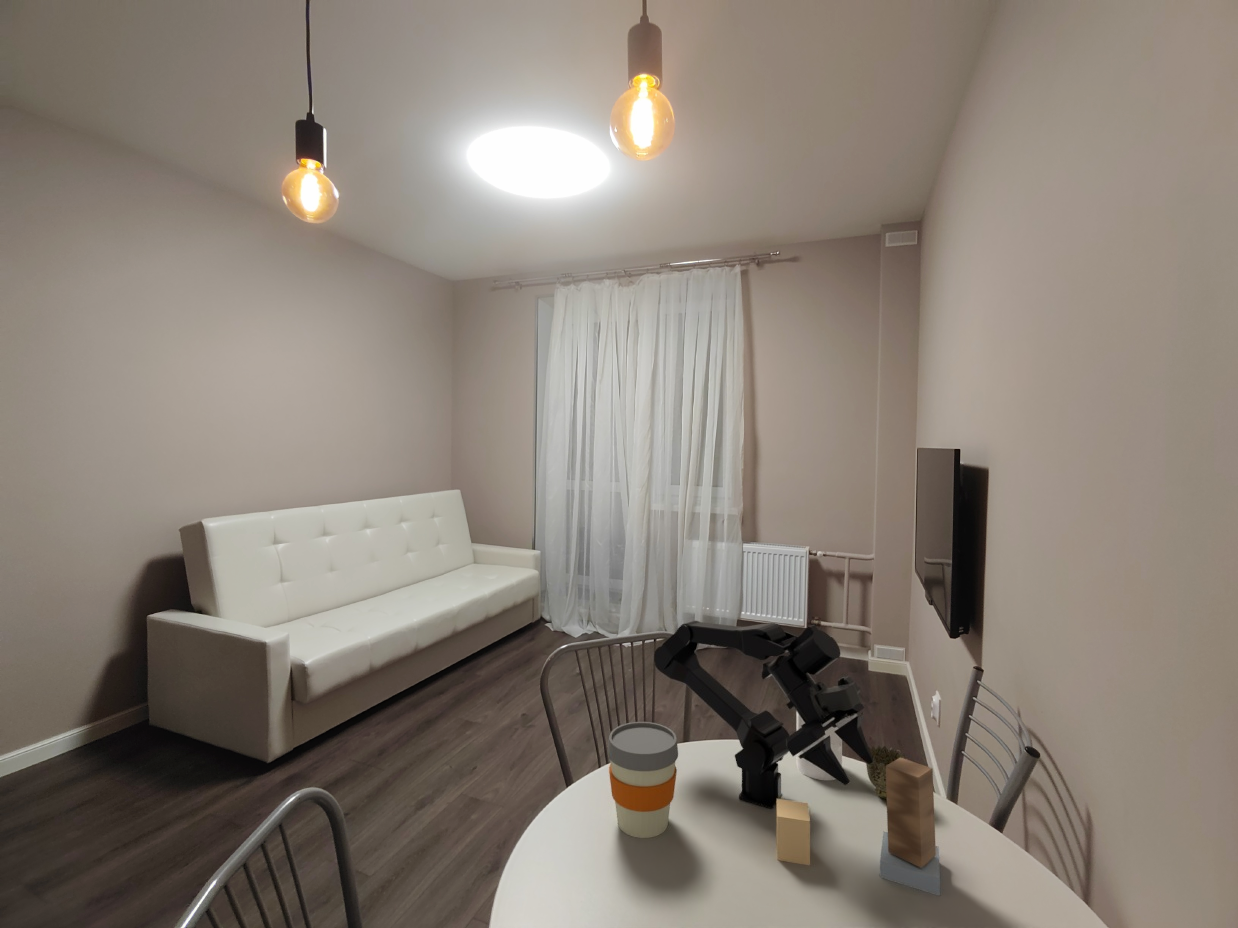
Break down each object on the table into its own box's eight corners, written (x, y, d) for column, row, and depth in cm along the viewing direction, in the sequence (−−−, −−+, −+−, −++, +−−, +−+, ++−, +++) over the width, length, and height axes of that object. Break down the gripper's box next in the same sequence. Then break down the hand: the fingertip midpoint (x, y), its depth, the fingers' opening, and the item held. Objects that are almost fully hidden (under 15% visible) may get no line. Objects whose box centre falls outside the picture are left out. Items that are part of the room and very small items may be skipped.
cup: (912, 809, 104) (912, 765, 104) (869, 804, 106) (869, 761, 106) (901, 787, 111) (901, 746, 112) (861, 782, 113) (861, 742, 113)
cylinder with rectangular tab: (798, 777, 115) (798, 718, 115) (794, 755, 124) (794, 700, 124) (845, 782, 113) (845, 722, 113) (838, 759, 122) (838, 704, 122)
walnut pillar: (888, 851, 89) (885, 765, 90) (903, 840, 92) (900, 757, 93) (921, 867, 85) (918, 777, 86) (935, 855, 88) (932, 768, 89)
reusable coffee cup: (593, 819, 101) (593, 735, 101) (644, 792, 110) (644, 714, 110) (641, 855, 92) (641, 762, 92) (693, 823, 100) (693, 738, 100)
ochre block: (777, 859, 91) (777, 816, 91) (776, 839, 96) (776, 798, 96) (810, 865, 90) (810, 820, 90) (807, 844, 95) (807, 802, 95)
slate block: (880, 879, 87) (880, 860, 87) (883, 849, 94) (883, 831, 94) (939, 898, 83) (939, 878, 83) (938, 865, 90) (938, 846, 90)
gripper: (803, 678, 92) (871, 773, 84) (853, 652, 105) (917, 732, 97) (760, 711, 98) (820, 803, 90) (813, 682, 111) (870, 760, 103)
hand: (860, 772), depth 95 cm, fingers open, 9 cm apart
